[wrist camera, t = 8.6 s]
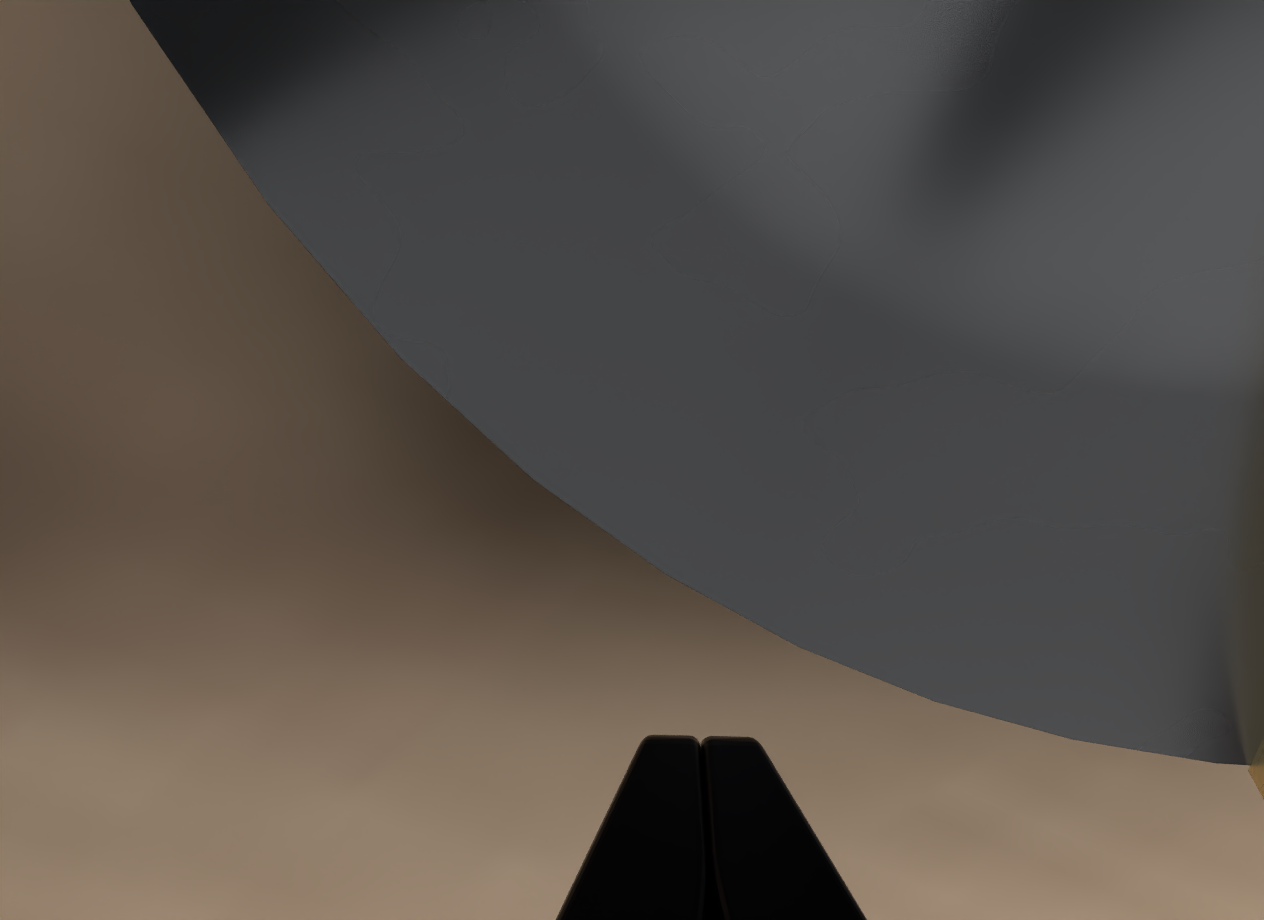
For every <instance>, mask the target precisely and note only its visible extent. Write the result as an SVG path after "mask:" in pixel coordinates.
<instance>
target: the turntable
mask: <svg viewBox="0 0 1264 920" xmlns="http://www.w3.org/2000/svg"><path fill="white" fill-rule="evenodd" d="M130 2H131V4H132V6H133V7H134V9H135V10H136V11H137V13H138V14H139V16H140V17H141V19H142V20H143V22H144V23H145V25H146V26H147V28H148V29H149V31H150V32H151V33H152V35H153V36H154V38H155V39H156V41H157V42H158V44H159V45H160V47H161V48H162V50H163V51H164V53H165V54H166V55H167V57H168V58H169V60H170V61H171V63H172V64H173V66H174V67H175V69H176V70H177V72H178V73H179V75H180V76H181V77H182V79H183V80H184V82H185V83H186V85H187V86H188V88H189V89H190V91H191V92H192V94H193V95H194V97H195V98H196V99H197V101H198V102H199V104H200V105H201V107H202V108H203V110H204V111H205V113H206V114H207V116H208V117H209V119H210V120H211V121H212V123H213V124H214V126H215V127H216V129H217V130H218V132H219V133H220V135H221V136H222V138H223V139H224V140H225V142H226V143H227V145H228V146H229V148H230V149H231V151H232V152H233V154H234V155H235V157H236V158H237V160H238V161H239V162H240V164H241V165H242V167H243V168H244V170H245V171H246V173H247V174H248V176H249V177H250V179H251V180H252V182H253V183H254V184H255V186H256V187H257V189H258V190H259V192H260V193H261V195H262V196H263V198H264V199H265V201H266V202H267V204H268V205H269V206H270V207H271V208H272V209H273V211H274V212H275V213H276V214H277V215H278V216H279V217H280V219H281V220H282V221H283V222H284V223H285V224H286V226H287V227H288V228H289V229H290V230H291V231H292V233H293V234H294V235H295V236H296V237H297V238H298V240H299V241H300V242H301V243H302V244H303V245H304V247H305V248H306V249H307V250H308V251H309V252H310V253H311V255H312V256H313V257H314V258H315V259H316V260H317V262H318V263H319V264H320V265H321V266H322V267H323V269H324V270H325V271H326V272H327V273H328V274H329V276H330V277H331V278H332V279H333V280H334V281H335V282H336V284H337V285H338V286H339V287H340V288H341V289H342V291H343V292H344V293H345V294H346V295H347V296H348V298H349V299H350V300H351V301H352V302H353V303H354V305H355V306H356V307H357V308H358V309H359V310H360V311H361V313H362V314H363V315H364V316H365V317H366V318H367V320H368V321H369V322H370V323H371V324H372V325H373V327H374V328H375V329H376V330H377V331H378V332H379V334H380V335H381V336H382V337H383V338H384V339H385V341H386V342H387V343H388V344H389V345H390V346H391V347H392V349H393V350H394V351H395V352H396V353H397V354H398V356H399V357H400V358H401V359H402V360H403V361H404V362H405V363H406V364H408V365H409V366H410V367H411V368H412V369H413V370H414V371H415V372H416V373H417V374H419V375H420V376H421V377H422V378H423V379H424V380H425V381H426V382H427V383H428V384H429V385H431V386H432V387H433V388H434V389H435V390H436V391H437V392H438V393H439V394H440V395H441V396H443V397H444V398H445V399H446V400H447V401H448V402H449V403H450V404H451V405H452V406H453V407H455V408H456V409H457V410H458V411H459V412H460V413H461V414H462V415H463V416H464V417H465V418H467V419H468V420H469V421H470V422H471V423H472V424H473V425H474V426H475V427H476V428H477V429H479V430H480V431H481V432H482V433H483V434H484V435H485V436H486V437H487V438H488V439H489V440H491V441H492V442H493V443H494V444H495V445H496V446H497V447H498V448H499V449H500V450H501V451H503V452H504V453H505V454H506V455H507V456H508V457H509V458H510V459H511V460H512V461H514V462H515V463H516V464H517V465H518V466H519V467H520V468H521V469H522V470H523V471H524V472H526V473H527V474H528V475H529V476H530V477H531V478H532V479H533V480H535V481H536V482H537V483H539V484H540V485H542V486H543V487H544V488H546V489H547V490H549V491H550V492H551V493H553V494H554V495H556V496H557V497H558V498H560V499H561V500H563V501H564V502H565V503H567V504H568V505H570V506H571V507H572V508H574V509H575V510H577V511H578V512H579V513H581V514H582V515H584V516H585V517H586V518H588V519H589V520H591V521H592V522H593V523H595V524H596V525H597V526H599V527H600V528H602V529H603V530H604V531H606V532H607V533H609V534H610V535H611V536H613V537H614V538H616V539H617V540H618V541H620V542H621V543H623V544H624V545H625V546H627V547H628V548H630V549H631V550H632V551H634V552H635V553H637V554H638V555H639V556H641V557H642V558H644V559H645V560H646V561H648V562H649V563H651V564H652V565H653V566H655V567H656V568H658V569H659V570H660V571H662V572H663V573H665V574H666V575H668V576H670V577H672V578H674V579H675V580H677V581H679V582H681V583H683V584H685V585H686V586H688V587H690V588H692V589H694V590H696V591H697V592H699V593H701V594H703V595H705V596H707V597H708V598H710V599H712V600H714V601H716V602H717V603H719V604H721V605H723V606H725V607H727V608H728V609H730V610H732V611H734V612H736V613H738V614H739V615H741V616H743V617H745V618H747V619H749V620H750V621H752V622H754V623H756V624H758V625H760V626H761V627H763V628H765V629H767V630H769V631H771V632H772V633H774V634H776V635H778V636H780V637H782V638H783V639H785V640H787V641H789V642H791V643H793V644H794V645H796V646H798V647H800V648H803V649H805V650H808V651H810V652H813V653H815V654H818V655H820V656H823V657H825V658H828V659H830V660H833V661H835V662H838V663H840V664H843V665H845V666H848V667H850V668H853V669H855V670H858V671H860V672H863V673H865V674H868V675H870V676H873V677H875V678H878V679H880V680H883V681H885V682H887V683H890V684H892V685H895V686H897V687H900V688H902V689H905V690H907V691H910V692H912V693H915V694H917V695H920V696H922V697H925V698H927V699H930V700H932V701H935V702H939V703H942V704H946V705H950V706H953V707H957V708H960V709H964V710H968V711H971V712H975V713H979V714H982V715H986V716H989V717H993V718H997V719H1000V720H1004V721H1008V722H1011V723H1015V724H1018V725H1022V726H1026V727H1029V728H1033V729H1037V730H1040V731H1044V732H1048V733H1051V734H1055V735H1058V736H1062V737H1066V738H1069V739H1073V740H1079V741H1085V742H1091V743H1097V744H1103V745H1109V746H1115V747H1121V748H1127V749H1134V750H1140V751H1146V752H1152V753H1158V754H1164V755H1170V756H1176V757H1182V758H1188V759H1194V760H1200V761H1206V762H1212V763H1222V764H1238V765H1251V766H1250V768H1249V770H1248V771H1249V773H1250V775H1251V776H1252V778H1253V780H1254V782H1255V784H1256V786H1257V788H1258V789H1259V791H1260V793H1261V795H1262V797H1263V799H1264V0H130Z"/></svg>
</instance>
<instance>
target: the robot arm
mask: <svg viewBox="0 0 1264 920" xmlns="http://www.w3.org/2000/svg"><path fill="white" fill-rule="evenodd" d="M556 920H867V919H866V917H865V916H864V914H863V912H862V911H861V909H860V907H859V906H858V904H857V902H856V901H855V899H854V897H853V896H852V894H851V892H850V891H849V889H848V887H847V886H846V884H845V882H844V881H843V879H842V877H841V876H840V874H839V872H838V871H837V869H836V868H835V866H834V864H833V863H832V861H831V859H830V858H829V856H828V854H827V853H826V851H825V849H824V848H823V846H822V844H821V843H820V841H819V839H818V838H817V836H816V834H815V833H814V831H813V829H812V828H811V826H810V824H809V823H808V821H807V819H806V818H805V816H804V814H803V813H802V811H801V809H800V808H799V806H798V805H797V803H796V801H795V800H794V798H793V796H792V795H791V793H790V791H789V790H788V788H787V786H786V785H785V783H784V781H783V780H782V778H781V776H780V775H779V773H778V771H777V770H776V768H775V766H774V765H773V763H772V761H771V760H770V758H769V756H768V755H767V753H766V751H765V750H764V748H763V747H762V745H761V744H760V743H759V742H758V741H757V740H755V739H754V738H751V737H731V736H709V737H707V738H705V739H704V740H703V741H702V743H701V746H700V743H699V742H698V740H697V739H696V738H695V737H693V736H683V735H649V736H647V737H645V738H644V739H643V740H642V742H641V743H640V745H639V747H638V749H637V751H636V753H635V755H634V757H633V759H632V761H631V763H630V765H629V768H628V770H627V772H626V774H625V776H624V778H623V780H622V782H621V784H620V786H619V788H618V791H617V793H616V795H615V797H614V799H613V801H612V803H611V805H610V807H609V809H608V811H607V814H606V816H605V818H604V820H603V822H602V824H601V826H600V828H599V830H598V832H597V835H596V837H595V839H594V841H593V843H592V845H591V847H590V849H589V851H588V853H587V855H586V858H585V860H584V862H583V864H582V866H581V868H580V870H579V872H578V874H577V876H576V878H575V881H574V883H573V885H572V887H571V889H570V891H569V893H568V895H567V897H566V899H565V901H564V904H563V906H562V908H561V910H560V912H559V914H558V916H557V918H556Z"/></svg>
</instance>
